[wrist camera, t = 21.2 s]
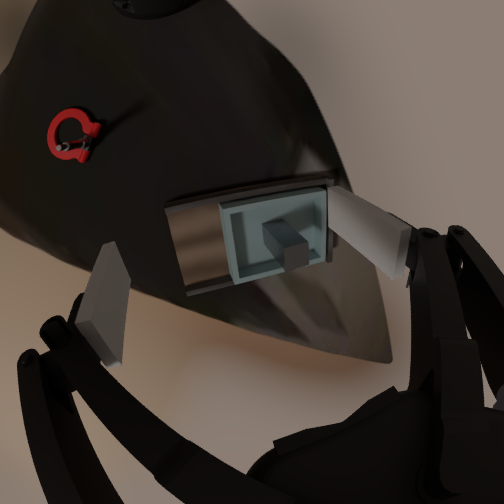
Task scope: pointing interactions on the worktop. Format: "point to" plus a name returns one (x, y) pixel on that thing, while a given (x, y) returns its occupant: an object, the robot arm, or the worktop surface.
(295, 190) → the crate
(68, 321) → the robot arm
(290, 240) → the dark grey block
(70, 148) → the tow hook
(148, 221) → the worktop surface
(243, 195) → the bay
